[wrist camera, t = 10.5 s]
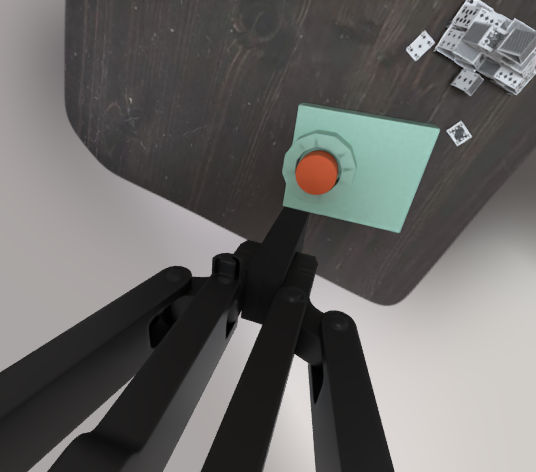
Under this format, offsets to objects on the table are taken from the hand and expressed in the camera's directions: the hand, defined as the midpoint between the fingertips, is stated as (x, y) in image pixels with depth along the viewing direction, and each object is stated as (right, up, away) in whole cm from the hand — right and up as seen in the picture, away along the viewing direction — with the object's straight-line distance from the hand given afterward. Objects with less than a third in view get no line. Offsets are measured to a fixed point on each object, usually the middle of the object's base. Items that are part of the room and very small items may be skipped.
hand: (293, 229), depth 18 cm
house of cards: (+14, +13, +7) cm, 20 cm away
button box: (+7, +7, +13) cm, 16 cm away
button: (+3, +6, +10) cm, 12 cm away
